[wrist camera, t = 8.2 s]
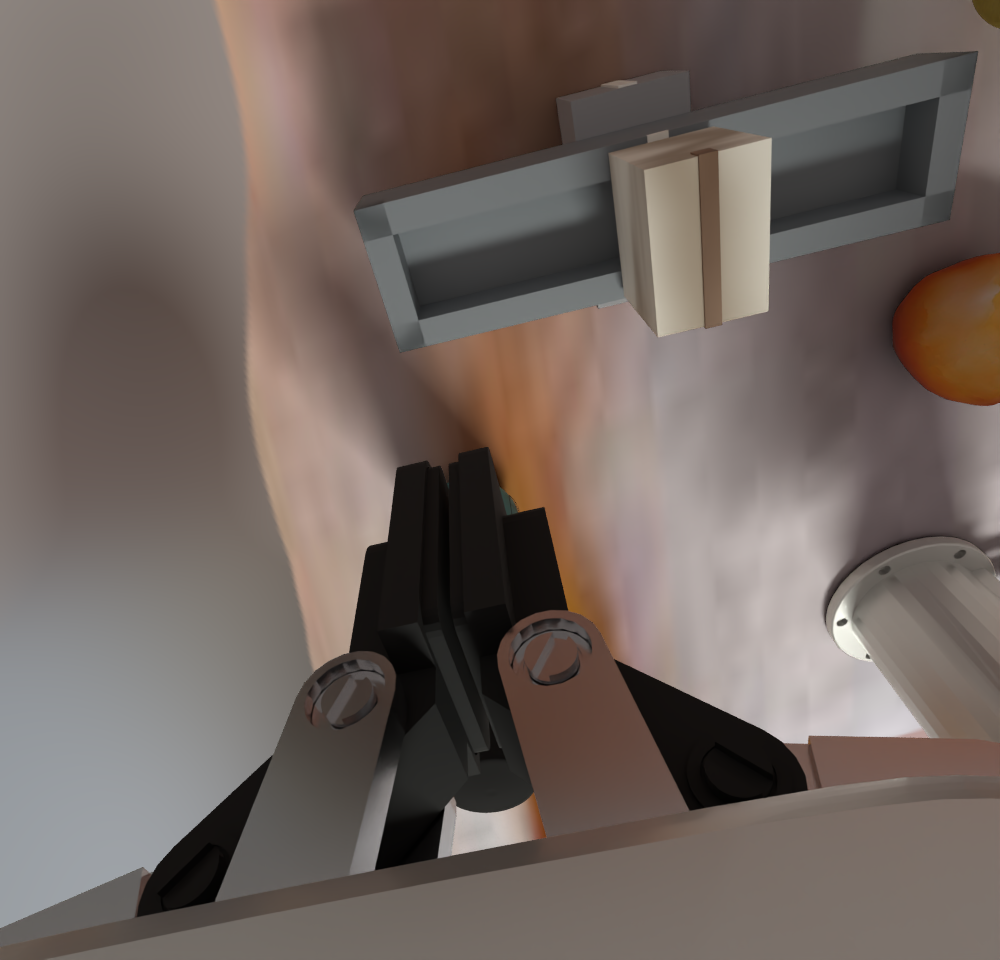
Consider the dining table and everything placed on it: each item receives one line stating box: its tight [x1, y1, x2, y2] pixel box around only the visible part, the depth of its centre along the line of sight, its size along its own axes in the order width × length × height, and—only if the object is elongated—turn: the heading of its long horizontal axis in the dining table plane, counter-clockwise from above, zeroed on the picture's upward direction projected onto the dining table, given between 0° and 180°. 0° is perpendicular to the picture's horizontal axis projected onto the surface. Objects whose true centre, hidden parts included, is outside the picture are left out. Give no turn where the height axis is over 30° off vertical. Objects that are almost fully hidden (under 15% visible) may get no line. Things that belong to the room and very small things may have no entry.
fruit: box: [892, 253, 1000, 406], centre depth 35 cm, size 8×8×8 cm
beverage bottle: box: [447, 483, 534, 813], centre depth 33 cm, size 6×7×20 cm
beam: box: [354, 51, 978, 353], centre depth 29 cm, size 24×9×8 cm, turn 102°
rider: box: [608, 126, 772, 337], centre depth 24 cm, size 4×6×7 cm
